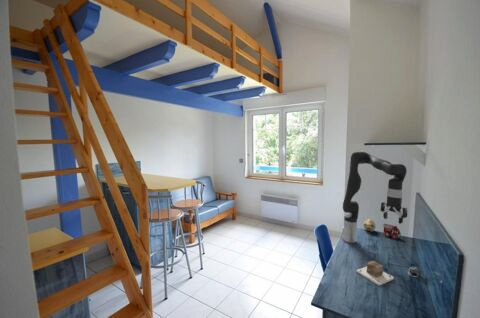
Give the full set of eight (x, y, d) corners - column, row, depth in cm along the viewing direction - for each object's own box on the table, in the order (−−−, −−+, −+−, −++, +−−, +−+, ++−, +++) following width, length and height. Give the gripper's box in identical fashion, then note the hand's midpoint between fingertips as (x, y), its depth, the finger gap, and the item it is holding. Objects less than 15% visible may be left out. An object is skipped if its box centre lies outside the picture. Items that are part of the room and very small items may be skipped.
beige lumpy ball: (361, 231, 193) (362, 220, 192) (363, 227, 202) (364, 216, 201) (374, 234, 187) (375, 222, 186) (375, 230, 196) (376, 219, 195)
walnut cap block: (366, 272, 131) (367, 262, 130) (372, 269, 133) (373, 260, 133) (376, 277, 125) (376, 268, 125) (382, 275, 128) (383, 265, 127)
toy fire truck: (399, 240, 176) (400, 228, 175) (382, 235, 184) (382, 224, 183) (400, 237, 181) (401, 226, 180) (383, 233, 189) (384, 222, 189)
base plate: (356, 271, 132) (356, 267, 132) (370, 266, 138) (371, 261, 138) (379, 285, 120) (379, 280, 120) (393, 279, 126) (394, 274, 125)
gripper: (379, 193, 136) (377, 218, 138) (403, 199, 123) (401, 226, 125) (386, 192, 140) (384, 216, 141) (411, 197, 127) (409, 224, 128)
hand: (392, 221), depth 133 cm, fingers open, 8 cm apart
